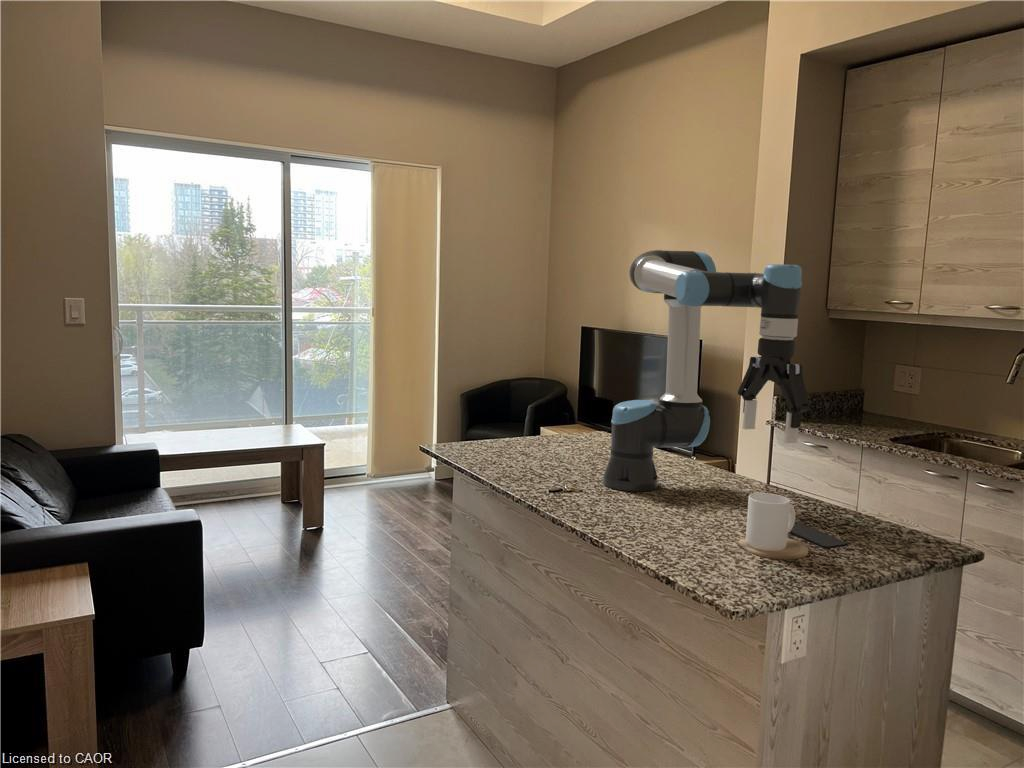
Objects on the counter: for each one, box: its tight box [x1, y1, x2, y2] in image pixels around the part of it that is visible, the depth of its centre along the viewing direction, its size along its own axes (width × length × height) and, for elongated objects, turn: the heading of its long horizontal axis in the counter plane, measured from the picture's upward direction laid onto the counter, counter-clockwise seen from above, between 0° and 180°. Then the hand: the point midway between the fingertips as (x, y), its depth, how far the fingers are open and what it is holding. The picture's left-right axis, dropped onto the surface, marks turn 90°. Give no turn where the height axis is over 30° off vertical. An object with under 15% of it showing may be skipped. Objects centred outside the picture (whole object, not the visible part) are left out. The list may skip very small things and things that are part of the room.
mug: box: [745, 492, 796, 551], centre depth 157 cm, size 12×8×10 cm
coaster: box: [738, 535, 809, 561], centre depth 157 cm, size 14×14×1 cm
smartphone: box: [788, 522, 849, 549], centre depth 166 cm, size 7×1×15 cm
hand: (768, 435), depth 160 cm, fingers open, 13 cm apart
